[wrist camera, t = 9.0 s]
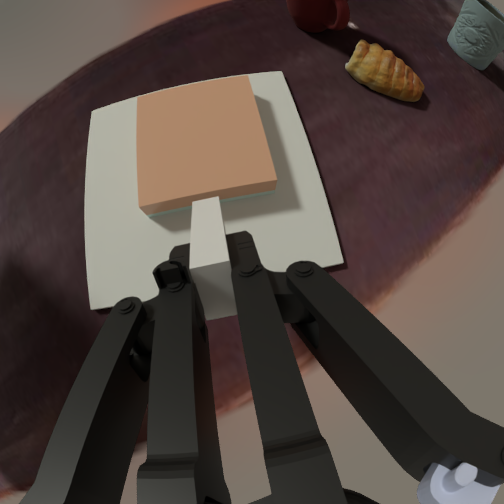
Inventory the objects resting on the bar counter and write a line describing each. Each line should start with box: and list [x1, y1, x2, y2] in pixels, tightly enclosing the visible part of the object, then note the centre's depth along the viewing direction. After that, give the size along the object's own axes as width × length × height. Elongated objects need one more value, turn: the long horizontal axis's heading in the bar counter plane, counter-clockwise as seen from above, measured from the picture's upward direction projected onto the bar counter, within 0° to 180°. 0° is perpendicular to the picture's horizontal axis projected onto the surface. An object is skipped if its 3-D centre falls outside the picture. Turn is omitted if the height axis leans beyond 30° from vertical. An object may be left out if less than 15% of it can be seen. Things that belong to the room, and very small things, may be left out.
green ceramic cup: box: [447, 0, 504, 70], centre depth 25 cm, size 10×10×12 cm
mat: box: [85, 71, 344, 310], centre depth 23 cm, size 20×20×1 cm
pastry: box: [345, 40, 424, 102], centre depth 25 cm, size 9×7×4 cm
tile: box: [136, 75, 277, 218], centre depth 22 cm, size 10×2×11 cm
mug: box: [287, 0, 350, 33], centre depth 24 cm, size 11×8×10 cm
